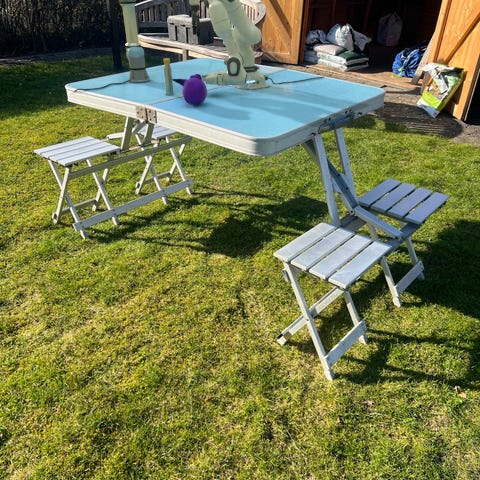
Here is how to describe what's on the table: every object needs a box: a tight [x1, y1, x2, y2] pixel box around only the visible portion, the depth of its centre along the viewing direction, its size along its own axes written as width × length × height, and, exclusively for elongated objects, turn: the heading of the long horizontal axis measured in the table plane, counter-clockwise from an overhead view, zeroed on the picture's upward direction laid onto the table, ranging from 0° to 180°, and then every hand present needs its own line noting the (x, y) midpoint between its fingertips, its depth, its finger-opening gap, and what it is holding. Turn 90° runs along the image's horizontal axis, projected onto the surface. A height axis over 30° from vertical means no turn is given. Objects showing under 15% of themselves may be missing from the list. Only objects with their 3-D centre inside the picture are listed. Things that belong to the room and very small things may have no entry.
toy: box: [172, 73, 208, 106], centre depth 273 cm, size 16×18×27 cm
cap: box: [162, 57, 171, 64], centre depth 288 cm, size 4×4×2 cm
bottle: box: [163, 63, 175, 96], centre depth 293 cm, size 5×5×22 cm
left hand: (196, 35), depth 349 cm, fingers open, 13 cm apart
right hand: (200, 77), depth 291 cm, fingers open, 8 cm apart
